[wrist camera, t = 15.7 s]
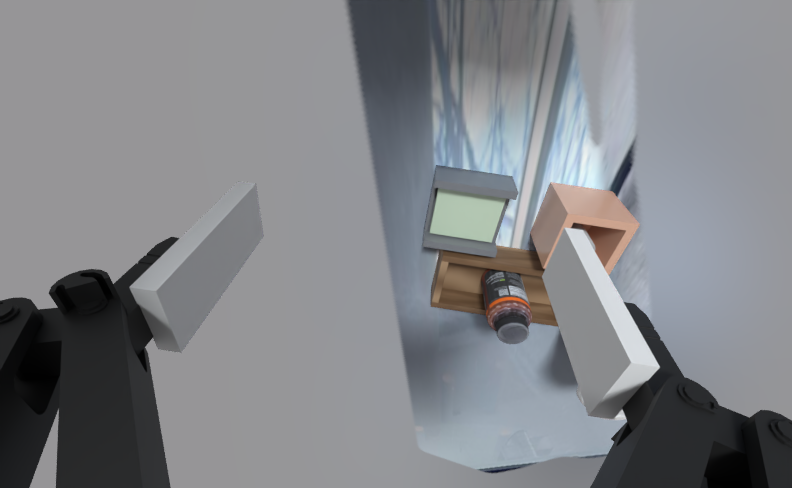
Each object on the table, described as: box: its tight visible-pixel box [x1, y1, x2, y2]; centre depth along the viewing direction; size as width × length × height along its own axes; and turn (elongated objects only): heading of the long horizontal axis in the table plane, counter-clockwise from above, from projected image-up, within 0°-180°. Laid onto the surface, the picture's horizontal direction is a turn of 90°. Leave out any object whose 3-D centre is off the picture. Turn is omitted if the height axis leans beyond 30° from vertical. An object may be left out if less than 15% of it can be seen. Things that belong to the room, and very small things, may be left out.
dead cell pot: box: [530, 182, 640, 276], centre depth 46 cm, size 8×8×8 cm
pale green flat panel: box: [430, 188, 506, 243], centre depth 48 cm, size 7×9×1 cm
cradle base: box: [423, 165, 518, 258], centre depth 48 cm, size 10×10×4 cm
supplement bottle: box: [481, 268, 532, 344], centre depth 51 cm, size 6×6×11 cm
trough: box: [431, 246, 559, 327], centre depth 54 cm, size 10×20×4 cm, turn 84°
